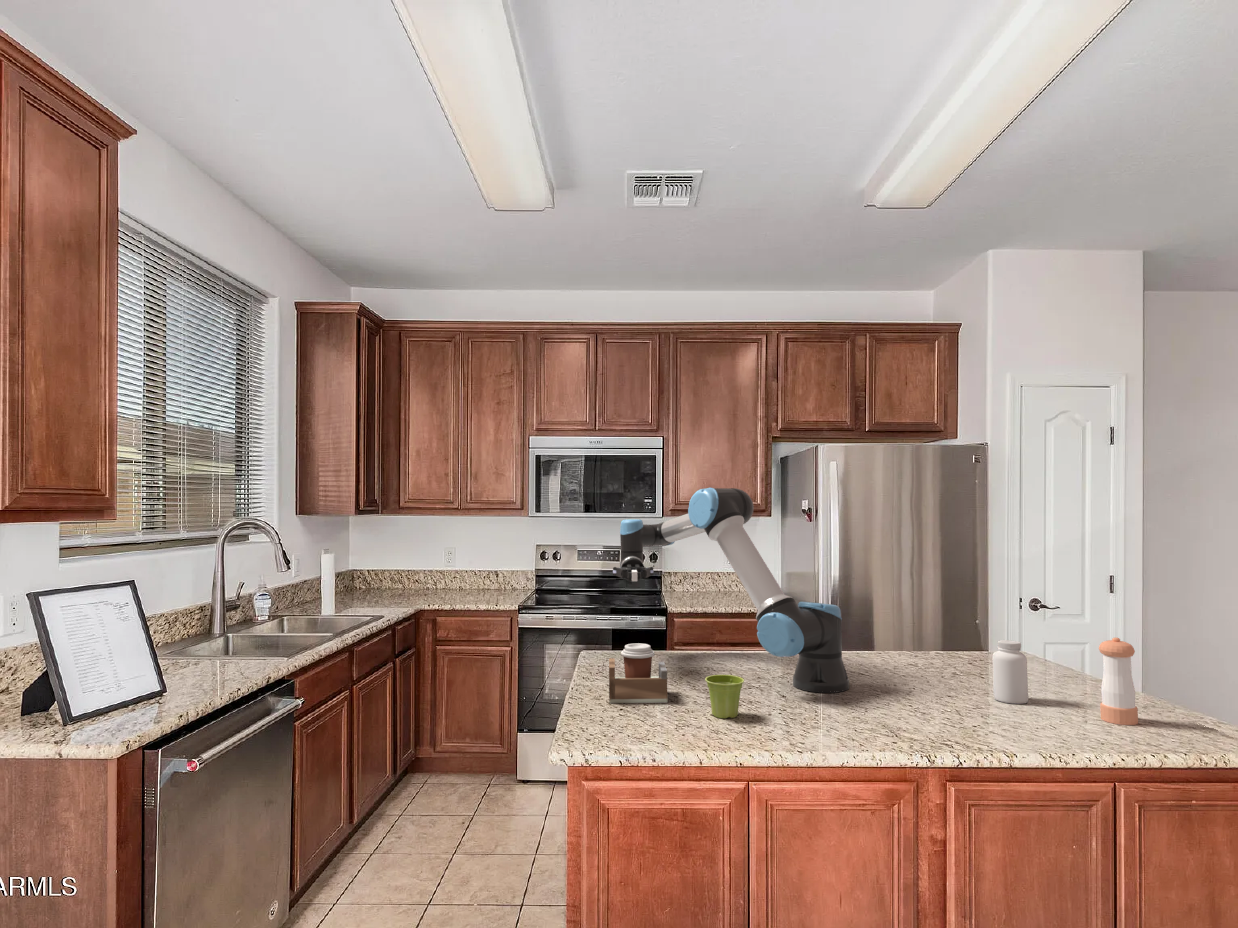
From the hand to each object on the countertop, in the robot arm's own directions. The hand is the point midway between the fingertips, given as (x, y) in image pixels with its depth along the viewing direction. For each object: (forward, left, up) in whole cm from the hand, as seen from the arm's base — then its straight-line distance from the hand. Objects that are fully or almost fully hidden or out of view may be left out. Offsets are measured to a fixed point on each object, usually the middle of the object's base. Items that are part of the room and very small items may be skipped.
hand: (634, 576), depth 218 cm
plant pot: (-40, -5, -30) cm, 50 cm away
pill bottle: (-61, -78, -30) cm, 103 cm away
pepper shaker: (-84, -85, -30) cm, 123 cm away
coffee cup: (-13, +6, -29) cm, 33 cm away
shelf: (-10, +4, -30) cm, 32 cm away
